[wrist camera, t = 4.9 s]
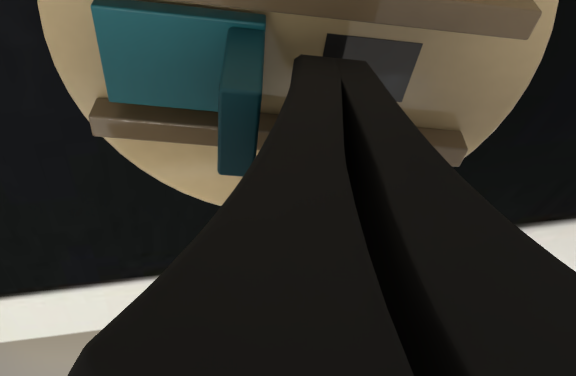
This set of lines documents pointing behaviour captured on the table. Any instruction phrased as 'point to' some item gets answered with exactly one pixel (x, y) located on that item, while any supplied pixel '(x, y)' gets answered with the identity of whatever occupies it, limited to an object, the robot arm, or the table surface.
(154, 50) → the slider
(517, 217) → the table surface
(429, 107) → the brown and beige cylinder
